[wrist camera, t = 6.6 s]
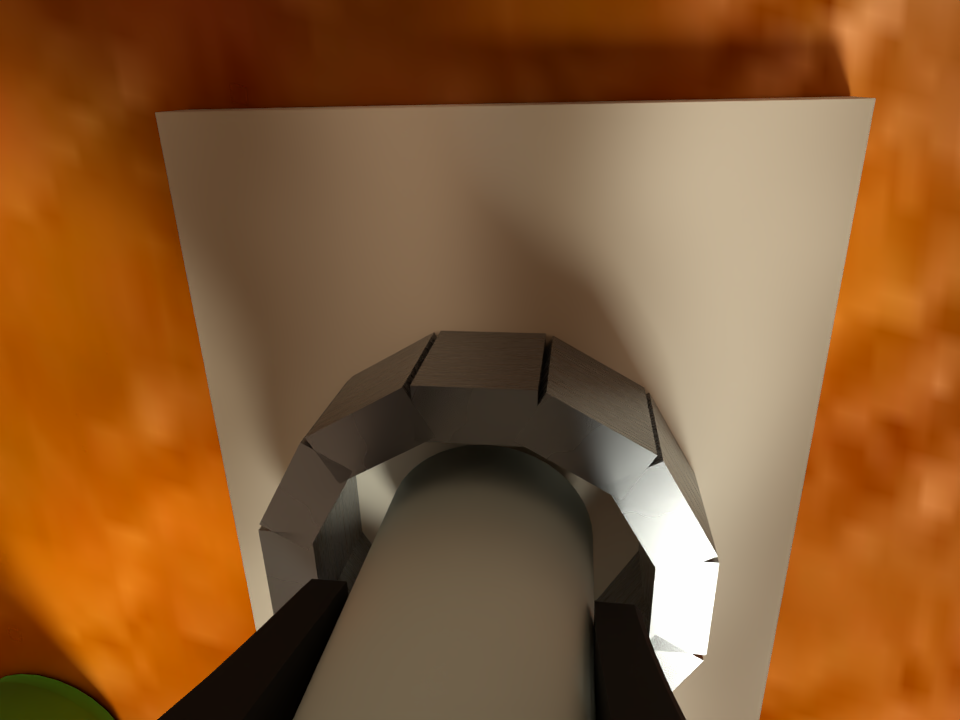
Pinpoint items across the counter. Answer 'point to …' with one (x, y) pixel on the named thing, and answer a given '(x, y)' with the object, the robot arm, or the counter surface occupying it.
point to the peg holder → (529, 333)
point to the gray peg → (468, 600)
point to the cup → (45, 700)
